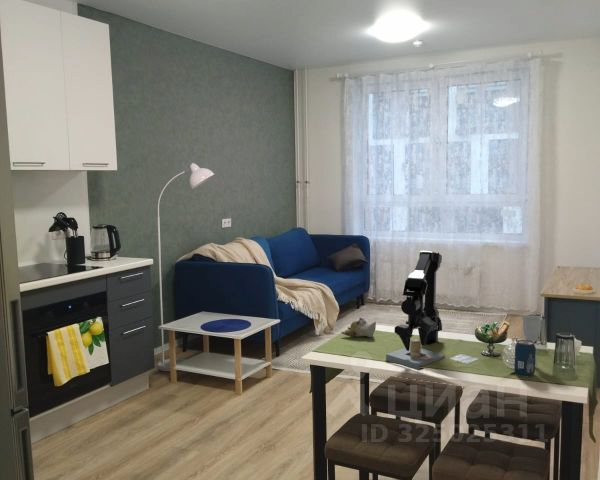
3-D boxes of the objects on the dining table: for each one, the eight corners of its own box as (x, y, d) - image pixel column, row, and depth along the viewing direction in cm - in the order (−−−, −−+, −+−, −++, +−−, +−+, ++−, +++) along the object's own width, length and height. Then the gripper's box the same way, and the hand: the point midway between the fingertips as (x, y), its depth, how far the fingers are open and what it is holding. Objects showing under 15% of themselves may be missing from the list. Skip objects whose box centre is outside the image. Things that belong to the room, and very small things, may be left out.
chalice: (541, 362, 217) (542, 316, 215) (540, 368, 211) (542, 320, 209) (520, 360, 220) (522, 314, 218) (519, 365, 214) (521, 319, 212)
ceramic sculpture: (372, 321, 248) (339, 320, 253) (373, 340, 248) (341, 339, 254) (378, 315, 257) (347, 315, 263) (379, 334, 258) (348, 333, 264)
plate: (461, 357, 224) (461, 354, 224) (478, 362, 218) (478, 358, 218) (449, 362, 219) (449, 358, 219) (466, 367, 213) (467, 363, 213)
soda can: (519, 369, 210) (520, 338, 209) (538, 374, 205) (539, 341, 204) (510, 374, 205) (511, 342, 204) (529, 379, 200) (530, 346, 199)
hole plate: (412, 351, 233) (412, 345, 233) (444, 361, 221) (444, 354, 220) (386, 360, 223) (386, 353, 222) (418, 370, 210) (418, 363, 210)
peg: (414, 358, 224) (414, 338, 223) (422, 360, 221) (422, 340, 220) (408, 360, 222) (408, 340, 221) (416, 363, 219) (416, 343, 218)
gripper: (417, 316, 207) (416, 358, 209) (447, 308, 219) (447, 347, 221) (393, 311, 216) (393, 351, 217) (424, 303, 227) (423, 341, 229)
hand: (415, 348), depth 221 cm, fingers open, 9 cm apart
